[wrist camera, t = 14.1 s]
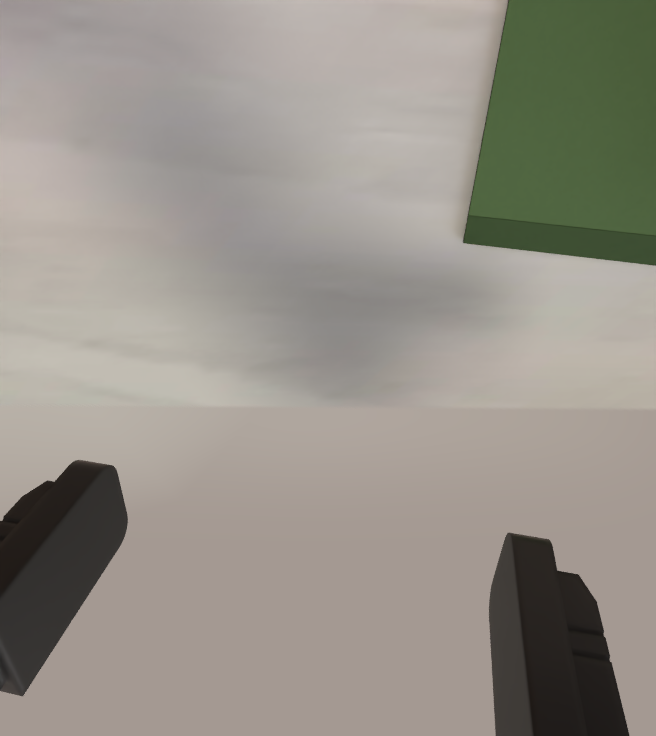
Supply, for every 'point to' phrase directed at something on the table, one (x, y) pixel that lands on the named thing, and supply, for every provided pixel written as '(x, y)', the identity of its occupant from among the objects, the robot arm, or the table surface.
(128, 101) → the table surface
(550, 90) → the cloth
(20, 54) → the table surface
